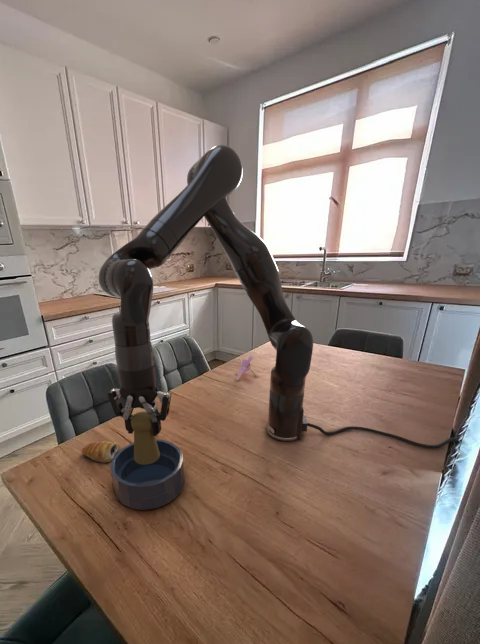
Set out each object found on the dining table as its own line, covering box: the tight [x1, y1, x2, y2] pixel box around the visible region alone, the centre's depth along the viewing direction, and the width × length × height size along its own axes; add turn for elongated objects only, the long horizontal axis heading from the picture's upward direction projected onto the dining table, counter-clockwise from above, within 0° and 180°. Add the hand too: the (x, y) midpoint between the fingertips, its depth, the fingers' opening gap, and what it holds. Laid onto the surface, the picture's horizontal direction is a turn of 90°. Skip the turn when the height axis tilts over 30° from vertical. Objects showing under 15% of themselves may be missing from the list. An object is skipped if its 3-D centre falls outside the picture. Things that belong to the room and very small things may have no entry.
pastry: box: [81, 440, 119, 463], centre depth 86 cm, size 9×7×4 cm
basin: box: [109, 438, 186, 511], centre depth 74 cm, size 17×17×7 cm
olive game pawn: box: [131, 411, 160, 465], centre depth 70 cm, size 6×6×11 cm
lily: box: [236, 353, 257, 381], centre depth 128 cm, size 12×12×10 cm
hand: (144, 432), depth 70 cm, fingers closed on olive game pawn, 5 cm apart
